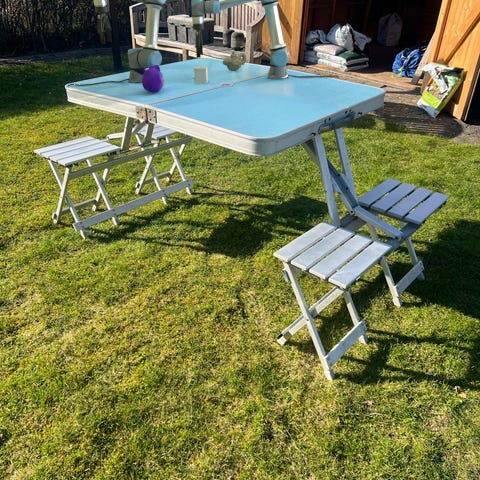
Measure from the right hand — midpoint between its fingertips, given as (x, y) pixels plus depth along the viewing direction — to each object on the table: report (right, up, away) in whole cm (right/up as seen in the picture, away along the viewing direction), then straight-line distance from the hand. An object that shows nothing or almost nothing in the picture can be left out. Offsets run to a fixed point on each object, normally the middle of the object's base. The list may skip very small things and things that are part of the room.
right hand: (199, 56), depth 321 cm
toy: (-32, -29, -13) cm, 45 cm away
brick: (0, -16, +9) cm, 18 cm away
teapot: (+24, +8, +48) cm, 55 cm away
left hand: (-58, -4, -30) cm, 65 cm away
